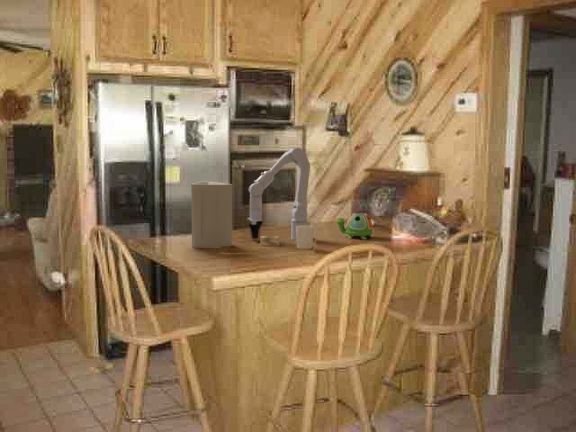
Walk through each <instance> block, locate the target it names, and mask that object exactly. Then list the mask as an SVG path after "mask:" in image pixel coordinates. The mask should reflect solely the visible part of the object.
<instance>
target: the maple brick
mask: <svg viewBox="0 0 576 432" xmlns="http://www.w3.org/2000/svg"><path fill="white" fill-rule="evenodd" d="M266 245H275V246H274V247H279V246H280V235H261V237H260V243H259V246H266ZM278 245H279V246H278Z"/></svg>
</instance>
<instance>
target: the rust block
mask: <svg viewBox="0 0 576 432" xmlns="http://www.w3.org/2000/svg"><path fill="white" fill-rule="evenodd" d="M249 230H250V231H249V232H250V233H249V238H250V239H249V241H257V240H260V237H261V236H262V228H261V227H260V228H259V231H258V237H257V239H255V238H252V233H251V229H250V228H249Z"/></svg>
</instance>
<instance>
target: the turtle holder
mask: <svg viewBox="0 0 576 432" xmlns="http://www.w3.org/2000/svg"><path fill="white" fill-rule="evenodd" d="M345 222H346V221H345V218H343V217H338V218H337V221H336V223H337V225H338V229H339V231H340V232H341V233H342V234H345V235H347V236H348V237H347V238H348V239H351V240H352V239H353V237H357V236H359V238H360V240H367V238H372V237H373V236H372V235H373V234H374V233H373V229H374V227H373V226H374V225H373V222H372V218H370V216H369V215H368V214H367V213H363V212H362V213H361V212H359V213H358V212H355V213H352V215H350V216H349V218H347V222H346V223H345ZM345 224H346V225H345ZM344 225H345V226H344ZM352 236H353V237H352ZM365 236H366V237H365Z"/></svg>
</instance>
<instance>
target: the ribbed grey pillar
mask: <svg viewBox="0 0 576 432" xmlns="http://www.w3.org/2000/svg"><path fill="white" fill-rule="evenodd" d="M190 192H191V201H190V202H191V247H192V248H195V249H196V248H197V249H198V248H199V249H200V248H201V249H222V248H223V247H231V246H233V184H231V183H225V182H218V181H217V182H216V181H198V182H195V183H194V182H193V183H191V191H190Z"/></svg>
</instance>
